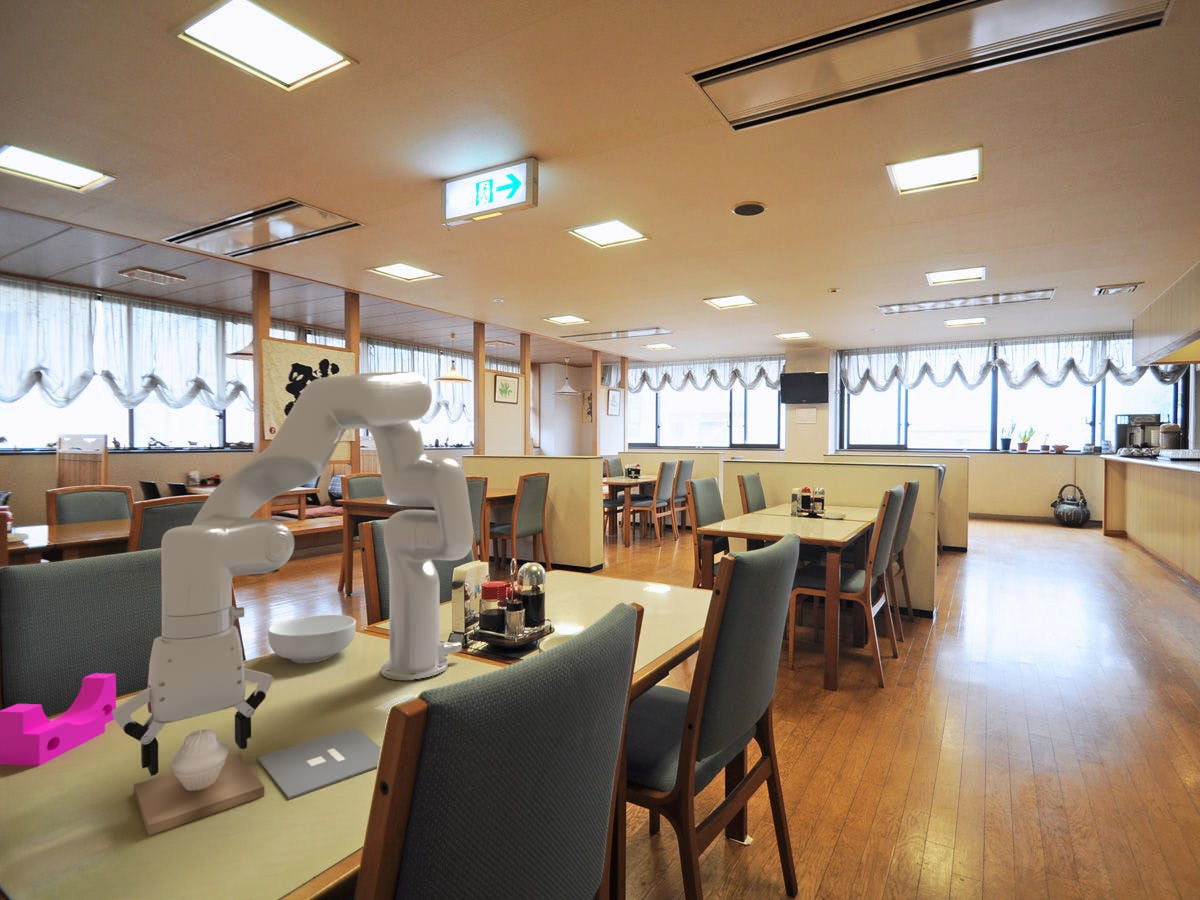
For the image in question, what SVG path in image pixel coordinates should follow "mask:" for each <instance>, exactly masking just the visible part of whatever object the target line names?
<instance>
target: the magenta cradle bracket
mask: <svg viewBox="0 0 1200 900" xmlns="http://www.w3.org/2000/svg"><path fill="white" fill-rule="evenodd" d="M81 683H82V684H81V688H80V690H79V693H78V694H77V696H76V698H75V700H74V701H73V702H72V704H71V705H70V707H68V709H67V710H66V711H65V712H63V713H62V714H61V715H60V716H58V717H56V718H54V719H52V720H51V719H49V718H48V717H47V715H46V714H45V712H44V709H43V705H42V704H40V703H39V704H34V703H32V704H31V703H16V704H13V705H12V706H8V707H6V708H4V709H0V765H13V766H15V765H18V766H32V765H33V767H34V766H35V765H37V767H40V766H42V765H44V764H46V763H48V762H50V761H51V760H54V759H56V758H57V757H60V756H61V755H63V754H65V753H68V752H69V750H70V751H71V749H72V750H73V748H74V749H75V747H76V748H77V747H79V746H81V745H83V744H85V743H87V742H89V741H91V740H93V739H95V738H97V737H99V736H101V735H102V734H104V732H105V733H106V725H107V724H108V722H109V723H111V722H113V721H114V717H113V715H112V712H113V710H114V709H116V708H117V674H116V673H102V672H101V673H99V672H95V673H92V674H89V675H87V676H84V677H83V680H82V682H81ZM110 721H111V722H110ZM106 723H107V724H106ZM100 734H101V735H100ZM35 767H36V766H35Z"/></svg>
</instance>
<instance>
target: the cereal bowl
mask: <svg viewBox="0 0 1200 900" xmlns="http://www.w3.org/2000/svg"><path fill="white" fill-rule="evenodd" d="M356 627H357V622H356V619H355V618H354V617H352V616H348V615H343V614H320V615H319V614H318V615H309V616H302V617H295V618H291V619H287V620H284V621H279V622H277V623H275V624H272V625H271V626H269V628H268V631H267V639H268V643H269V646H270V648H271V650H272V652H274V653H275V654H276V655H277V656H279V657H281V658H285V659H290V660H291V661H292V662H293V663H296V662H297V664H312V663H311V662H314V663H318V662H317V661H320V662H322V661H321V660H324V659H327V658H329V659H331V658H332V657H333V656H334V655H335V654H338V653H339V652H341V651H344V650H345V649H346V648H347V647H349V646H350V644H351V643H352V642H353V640H354V638H355V634H356V632H357V631H356V630H357V628H356ZM331 656H332V657H331ZM330 657H331V658H330ZM327 660H328V659H327ZM324 661H325V660H324Z"/></svg>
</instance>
